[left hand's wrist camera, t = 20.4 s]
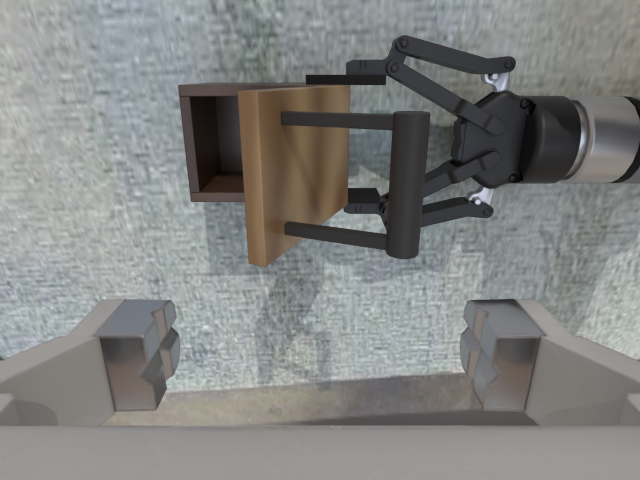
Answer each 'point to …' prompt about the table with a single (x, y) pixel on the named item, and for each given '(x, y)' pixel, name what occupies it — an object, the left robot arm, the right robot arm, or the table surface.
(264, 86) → the chest
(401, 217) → the lid
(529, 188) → the table surface
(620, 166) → the right robot arm
